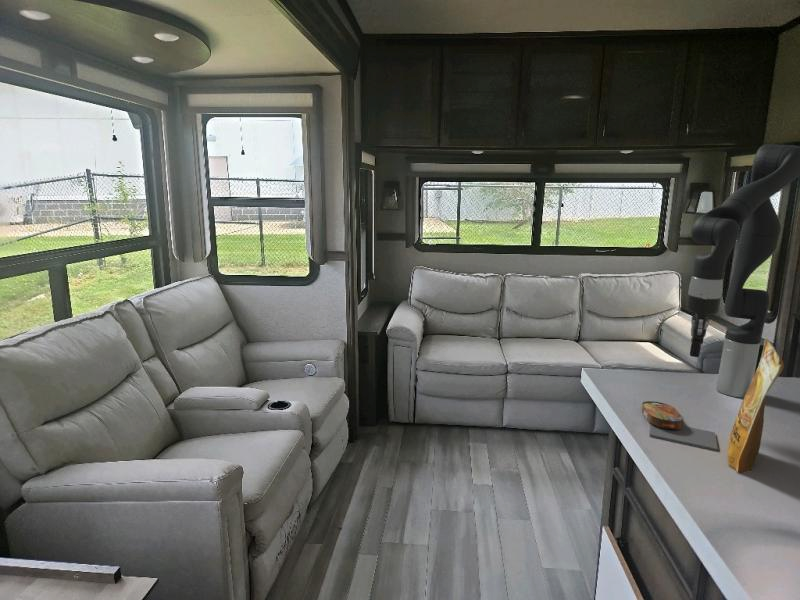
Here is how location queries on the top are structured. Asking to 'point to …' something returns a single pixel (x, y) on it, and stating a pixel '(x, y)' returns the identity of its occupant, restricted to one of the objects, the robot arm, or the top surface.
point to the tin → (662, 415)
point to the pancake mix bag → (753, 412)
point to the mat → (686, 436)
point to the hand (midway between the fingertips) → (694, 355)
